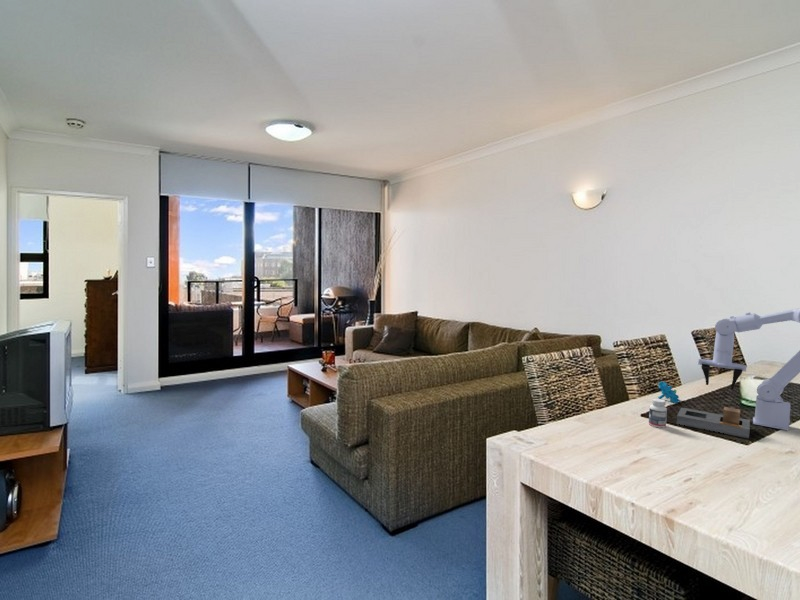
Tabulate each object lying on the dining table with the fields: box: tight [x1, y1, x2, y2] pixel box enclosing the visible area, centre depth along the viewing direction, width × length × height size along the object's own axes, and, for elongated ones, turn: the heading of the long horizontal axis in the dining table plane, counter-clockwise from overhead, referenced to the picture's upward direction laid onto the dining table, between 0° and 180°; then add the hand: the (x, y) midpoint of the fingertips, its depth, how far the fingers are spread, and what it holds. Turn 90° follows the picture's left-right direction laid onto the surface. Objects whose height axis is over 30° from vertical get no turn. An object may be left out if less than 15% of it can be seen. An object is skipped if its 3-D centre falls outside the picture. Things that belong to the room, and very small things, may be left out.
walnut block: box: [722, 406, 741, 425], centre depth 151 cm, size 4×4×7 cm
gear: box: [657, 380, 680, 404], centre depth 185 cm, size 11×6×10 cm
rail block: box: [676, 407, 751, 439], centre depth 155 cm, size 20×12×3 cm, turn 52°
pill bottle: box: [648, 398, 668, 429], centre depth 154 cm, size 5×5×9 cm
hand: (719, 386), depth 168 cm, fingers open, 7 cm apart
